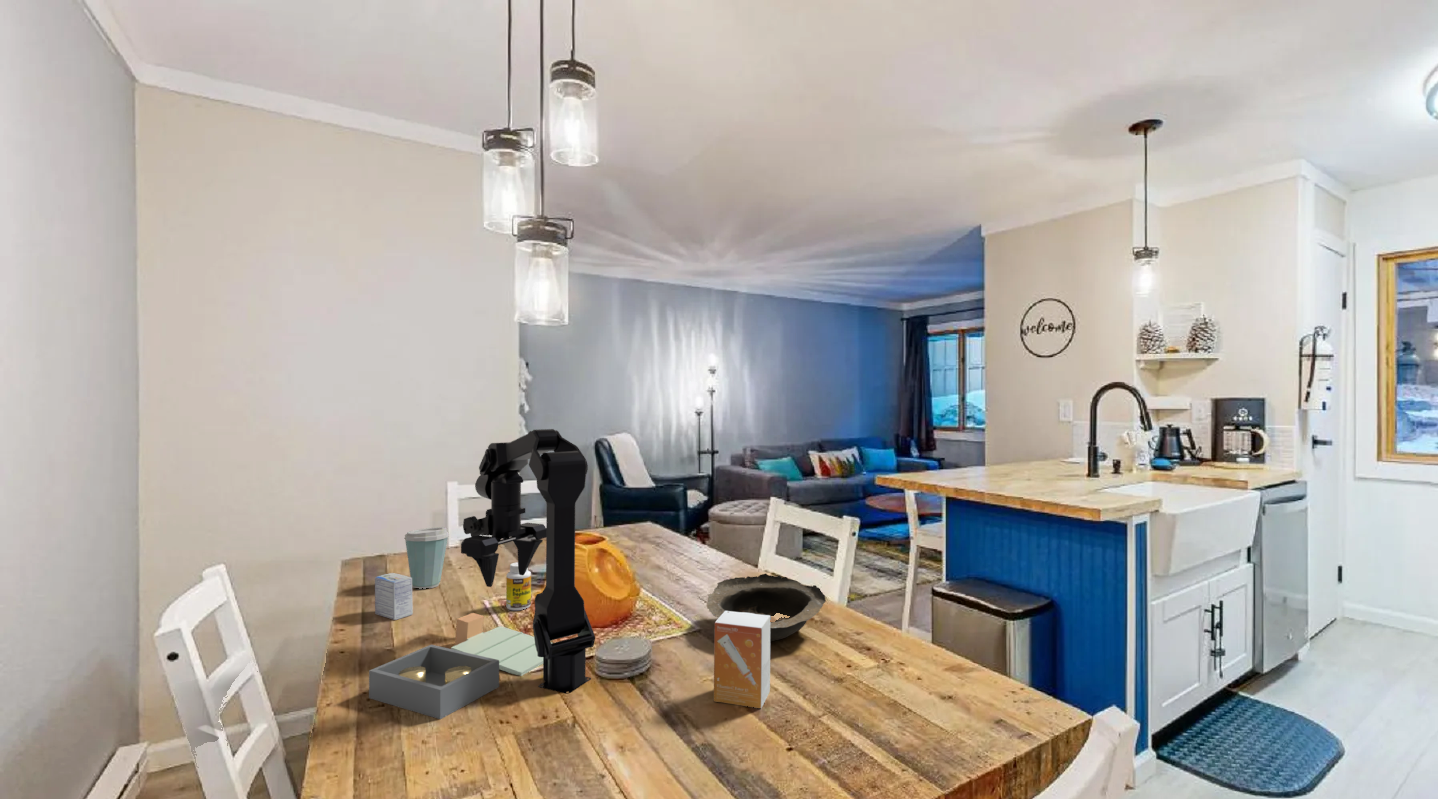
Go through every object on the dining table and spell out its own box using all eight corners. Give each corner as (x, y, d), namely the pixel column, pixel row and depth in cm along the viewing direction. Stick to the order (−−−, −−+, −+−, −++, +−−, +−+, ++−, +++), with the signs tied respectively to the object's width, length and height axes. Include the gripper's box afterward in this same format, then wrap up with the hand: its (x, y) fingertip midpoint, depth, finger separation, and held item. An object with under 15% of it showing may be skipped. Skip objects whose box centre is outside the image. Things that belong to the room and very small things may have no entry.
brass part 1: (431, 690, 104) (431, 669, 104) (410, 700, 101) (410, 678, 101) (414, 685, 106) (414, 664, 106) (393, 695, 102) (393, 673, 102)
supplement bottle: (509, 613, 144) (510, 568, 144) (503, 606, 149) (503, 563, 149) (534, 608, 147) (534, 564, 147) (527, 602, 152) (527, 559, 152)
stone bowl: (791, 605, 149) (793, 567, 148) (844, 654, 125) (847, 609, 125) (691, 615, 141) (692, 575, 140) (727, 669, 117) (729, 620, 117)
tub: (499, 690, 106) (499, 660, 106) (440, 723, 95) (440, 689, 95) (431, 672, 113) (431, 644, 113) (369, 701, 102) (369, 670, 102)
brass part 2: (476, 689, 105) (476, 668, 105) (457, 700, 101) (457, 678, 101) (458, 685, 106) (459, 664, 106) (439, 695, 103) (439, 673, 103)
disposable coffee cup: (394, 590, 161) (394, 532, 161) (421, 579, 171) (421, 524, 171) (432, 593, 159) (432, 533, 159) (457, 581, 169) (457, 525, 169)
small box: (713, 702, 102) (713, 621, 102) (724, 685, 108) (724, 609, 108) (761, 710, 99) (762, 627, 99) (770, 692, 105) (771, 614, 105)
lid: (565, 661, 121) (568, 631, 121) (520, 688, 110) (522, 654, 110) (486, 635, 130) (488, 606, 130) (436, 657, 119) (438, 625, 118)
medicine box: (413, 615, 143) (413, 577, 143) (393, 621, 139) (394, 581, 139) (393, 609, 147) (393, 572, 147) (374, 614, 143) (374, 576, 143)
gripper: (508, 495, 140) (508, 565, 140) (439, 508, 123) (439, 588, 123) (548, 498, 135) (548, 571, 135) (483, 512, 118) (483, 595, 118)
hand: (506, 580), depth 128 cm, fingers open, 9 cm apart
